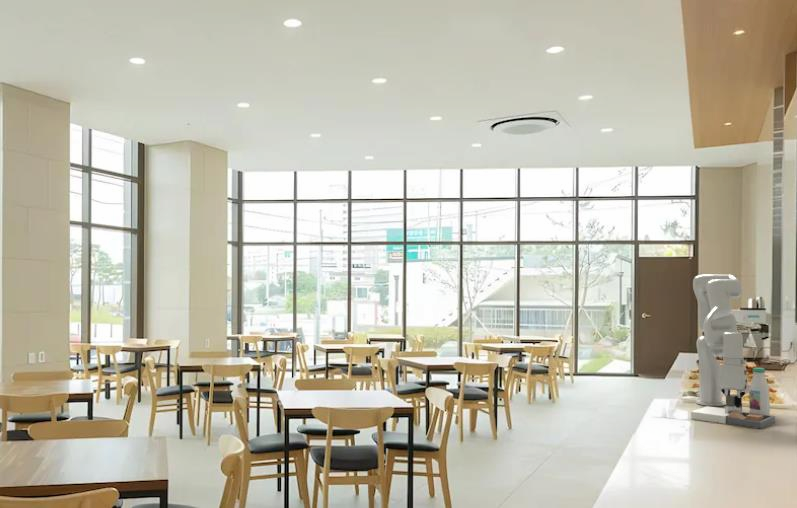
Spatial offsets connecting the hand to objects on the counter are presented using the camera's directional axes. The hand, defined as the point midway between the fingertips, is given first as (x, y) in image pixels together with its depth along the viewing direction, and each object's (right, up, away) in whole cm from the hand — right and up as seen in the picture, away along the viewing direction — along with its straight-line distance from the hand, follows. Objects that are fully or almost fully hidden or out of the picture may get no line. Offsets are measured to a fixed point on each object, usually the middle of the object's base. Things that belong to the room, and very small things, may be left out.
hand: (733, 406), depth 296 cm
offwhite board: (-5, -6, +5) cm, 10 cm away
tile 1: (-1, -4, -5) cm, 7 cm away
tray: (+5, -6, -5) cm, 9 cm away
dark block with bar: (0, -3, 0) cm, 3 cm away
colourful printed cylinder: (+16, -6, +11) cm, 20 cm away
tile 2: (+8, -3, -2) cm, 9 cm away
